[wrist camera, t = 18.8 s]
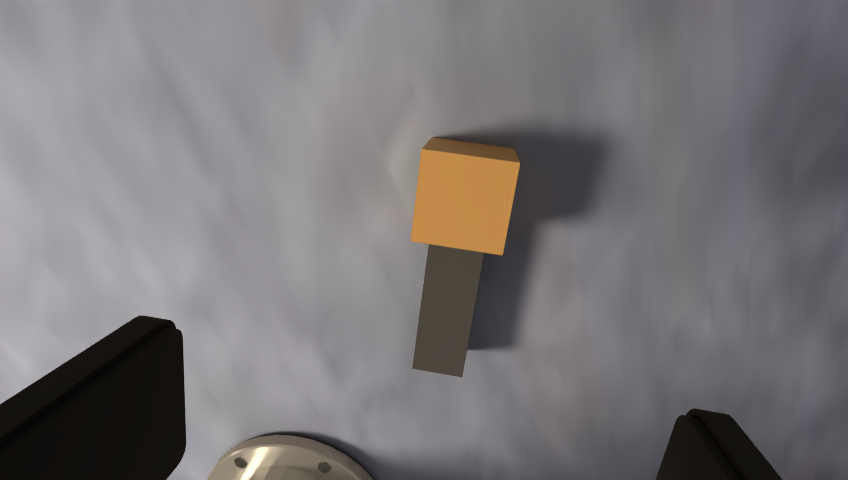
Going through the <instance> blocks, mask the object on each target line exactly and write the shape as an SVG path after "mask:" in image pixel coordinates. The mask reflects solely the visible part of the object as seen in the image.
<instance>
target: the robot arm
mask: <svg viewBox="0 0 848 480" xmlns="http://www.w3.org/2000/svg"><path fill="white" fill-rule="evenodd" d="M185 448H186V425H185V393H184V361H183V336H182V333H181V331H180V330H178V329H176V326H175V324H174V322H172V321H171V320H166V319H160V318H154V317H148V316H138V317H136V318H134V319H132V320H131V321H129V322H128V323H126V324H125V325H123V326H122V327H120V328H118V329H117V330H115V331H114V332H112V333H111V334H109V335H108V336H106V337H104V338H103V339H101V340H100V341H98V342H97V343H95V344H94V345H92V346H90V347H89V348H87V349H86V350H84V351H83V352H81V353H80V354H78V355H76V356H75V357H73V358H72V359H70V360H69V361H67V362H66V363H64V364H62V365H61V366H59V367H58V368H56V369H55V370H53V371H52V372H50V373H48V374H47V375H45V376H44V377H42V378H41V379H39V380H38V381H36V382H34V383H33V384H31V385H30V386H28V387H27V388H25V389H23V390H22V391H20V392H19V393H17V394H16V395H14V396H13V397H11V398H9V399H8V400H6V401H5V402H3V403H2V404H0V480H166V479H167V478H168V477H169V475H170V474H171V473H172V472H173V471H174V469H175V468H176V467H177V466H178V464H179V463H180V461H181V459H182V457H183V455H184V452H185ZM207 480H373V479H372V478H371V476H370V475H369V474H368V473H367V472H366V471H365V470H364V469H363V468H362V467H361V466H360V465H359V464H357V463H356V462H355V461H353V460H352V459H351V458H349V457H348V456H347V455H345V454H343V453H342V452H340V451H338V450H336V449H334V448H332V447H331V446H328V445H326V444H323V443H320V442H317V441H315V440H312V439H307V438H302V437H297V436H289V435H270V436H262V437H257V438H254V439H250V440H247V441H244V442H242V443H240V444H239V445H237V446H235V447H233V448H232V449H230V450H229V451H228V452H227V453H226V454H225V455H224V456H223V457H222V458H221V459H220V460H219V462H218V463H217V464H216V466H215V467H214V469H213V470H212V471H211V473H210V475H209V477H208V479H207ZM656 480H782V479H781V477H780V476H779V475H778V474H777V472H776V471H775V470H774V469H773V467H772V466H771V465H770V464H769V462H768V461H767V460H766V459H765V457H764V456H763V455H762V454H761V453H760V451H759V450H758V449H757V448H756V446H755V445H754V444H753V443H752V441H751V440H750V439H749V438H748V436H747V435H746V434H745V433H744V431H743V430H742V429H741V428H740V426H739V425H738V424H737V423H736V422H735V420H734V419H733V418H732V417H731V416H730V415H727V414H723V413H717V412H711V411H705V410H699V409H691V410H690V411H689V412H688V413H687V415H686V416H685V415H681V416H679V417H678V418H677V420H676V422H675V425H674V428H673V431H672V434H671V437H670V440H669V443H668V445H667V448H666V451H665V454H664V457H663V460H662V463H661V466H660V469H659V472H658V475H657V478H656Z"/></svg>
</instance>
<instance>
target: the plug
mask: <svg viewBox="0 0 848 480" xmlns="http://www.w3.org/2000/svg"><path fill="white" fill-rule="evenodd" d="M519 167H520V161H519V159H518V157H517V154H516V152H515V150H514V149H513V148H506V147H499V146H492V145H485V144H477V143H470V142H463V141H456V140H449V139H441V138H434V137H432V138H431V139H430V140H429V141H428V143H427V144H426V145H425V146H424V147H423V148H422V150H421V159H420V167H419V175H418V184H417V192H416V201H415V209H414V218H413V226H412V234H411V241H413V242H420V243H426V244H429V248H428V255H427V263H426V270H425V278H424V285H423V293H422V300H421V308H420V315H419V323H418V331H417V338H416V346H415V353H414V361H413V368H412V369H418V370H424V371H429V372H435V373H441V374H446V375H452V376H458V377H462V376H463V370H464V364H465V359H466V353H467V347H468V341H469V336H470V330H471V324H472V319H473V313H474V307H475V302H476V296H477V290H478V285H479V279H480V273H481V268H482V262H483V256H484V253H490V254H497V255H503V251H504V246H505V241H506V235H507V230H508V225H509V220H510V214H511V209H512V204H513V199H514V193H515V188H516V183H517V178H518V172H519Z"/></svg>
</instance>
